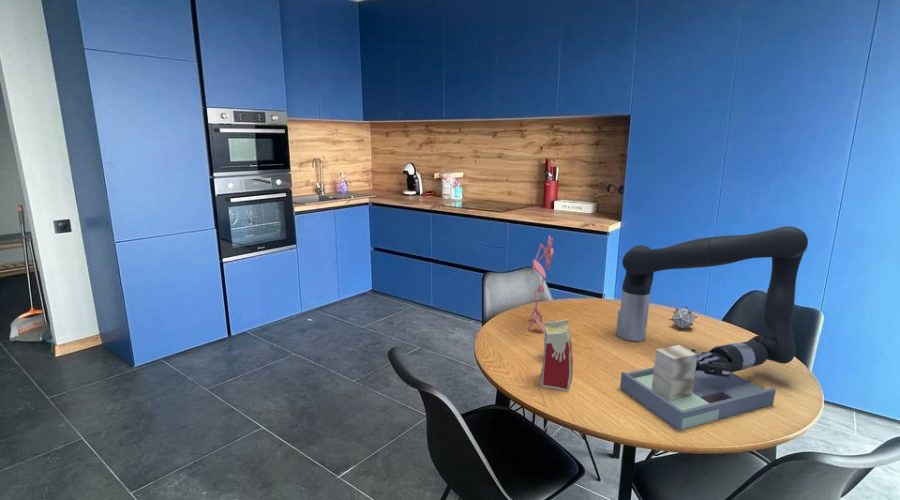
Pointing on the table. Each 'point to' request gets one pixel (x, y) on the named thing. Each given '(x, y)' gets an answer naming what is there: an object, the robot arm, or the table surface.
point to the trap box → (698, 398)
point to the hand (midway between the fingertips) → (685, 367)
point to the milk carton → (557, 357)
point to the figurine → (536, 265)
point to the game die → (683, 318)
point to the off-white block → (674, 372)
